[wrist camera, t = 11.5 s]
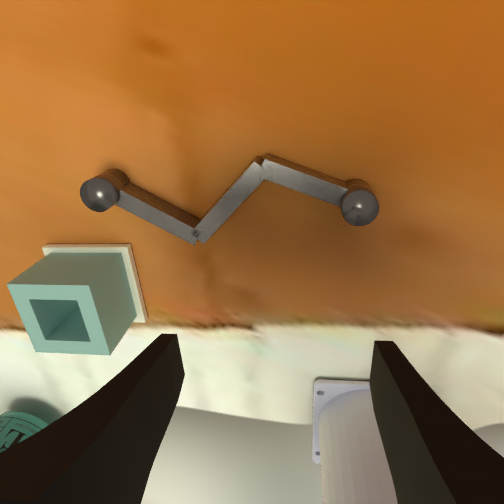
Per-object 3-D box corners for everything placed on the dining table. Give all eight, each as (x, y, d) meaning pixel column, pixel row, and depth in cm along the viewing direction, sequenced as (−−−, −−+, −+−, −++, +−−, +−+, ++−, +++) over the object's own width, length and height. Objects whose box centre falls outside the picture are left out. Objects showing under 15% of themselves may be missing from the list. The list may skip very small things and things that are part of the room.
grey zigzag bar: (366, 234, 21) (374, 252, 19) (115, 236, 23) (96, 253, 21) (374, 149, 19) (384, 159, 16) (95, 160, 21) (72, 169, 19)
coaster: (147, 318, 26) (145, 322, 25) (72, 316, 27) (68, 320, 26) (130, 243, 23) (127, 247, 23) (46, 244, 24) (41, 247, 23)
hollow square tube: (137, 315, 25) (110, 355, 22) (72, 313, 26) (35, 351, 22) (121, 252, 23) (88, 285, 19) (50, 252, 24) (6, 284, 20)
